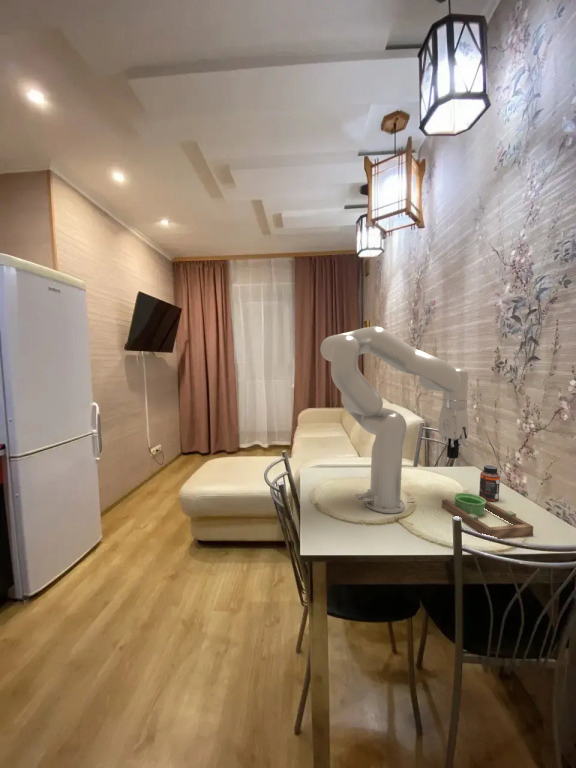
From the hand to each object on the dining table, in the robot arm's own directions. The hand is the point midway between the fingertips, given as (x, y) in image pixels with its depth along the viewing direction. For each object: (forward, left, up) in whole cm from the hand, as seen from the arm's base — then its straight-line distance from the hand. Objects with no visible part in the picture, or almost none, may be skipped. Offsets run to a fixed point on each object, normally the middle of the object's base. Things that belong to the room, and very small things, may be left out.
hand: (452, 457), depth 121 cm
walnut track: (0, -16, -15) cm, 21 cm away
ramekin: (0, -10, -15) cm, 18 cm away
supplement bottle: (+14, -2, -15) cm, 20 cm away
